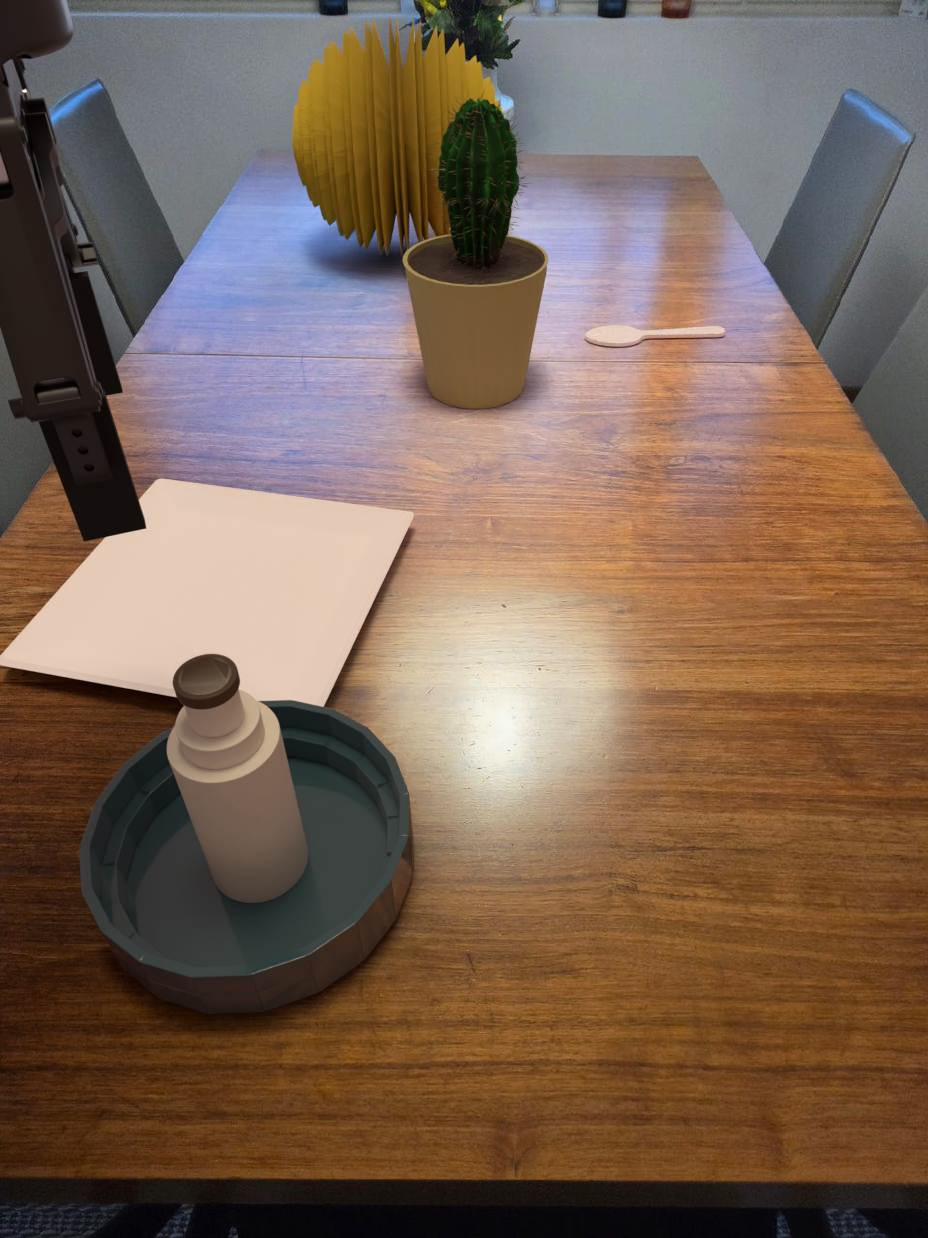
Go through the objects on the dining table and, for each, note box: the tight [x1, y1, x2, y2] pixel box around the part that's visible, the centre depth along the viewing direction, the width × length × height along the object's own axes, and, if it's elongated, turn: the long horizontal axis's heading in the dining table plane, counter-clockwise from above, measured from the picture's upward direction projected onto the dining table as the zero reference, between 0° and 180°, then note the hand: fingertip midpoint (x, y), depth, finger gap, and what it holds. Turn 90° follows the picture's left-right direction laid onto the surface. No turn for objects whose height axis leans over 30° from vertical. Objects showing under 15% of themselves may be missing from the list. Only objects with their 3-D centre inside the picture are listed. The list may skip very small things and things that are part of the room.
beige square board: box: [0, 477, 415, 707], centre depth 74 cm, size 26×26×2 cm
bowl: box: [79, 700, 414, 1015], centre depth 54 cm, size 19×19×5 cm
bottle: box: [167, 654, 308, 903], centre depth 50 cm, size 6×6×17 cm
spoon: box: [584, 324, 726, 348], centre depth 111 cm, size 5×18×1 cm, turn 94°
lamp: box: [291, 15, 503, 258], centre depth 124 cm, size 30×30×30 cm
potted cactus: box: [402, 89, 549, 410], centre depth 92 cm, size 15×15×30 cm
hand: (105, 455), depth 44 cm, fingers open, 13 cm apart
